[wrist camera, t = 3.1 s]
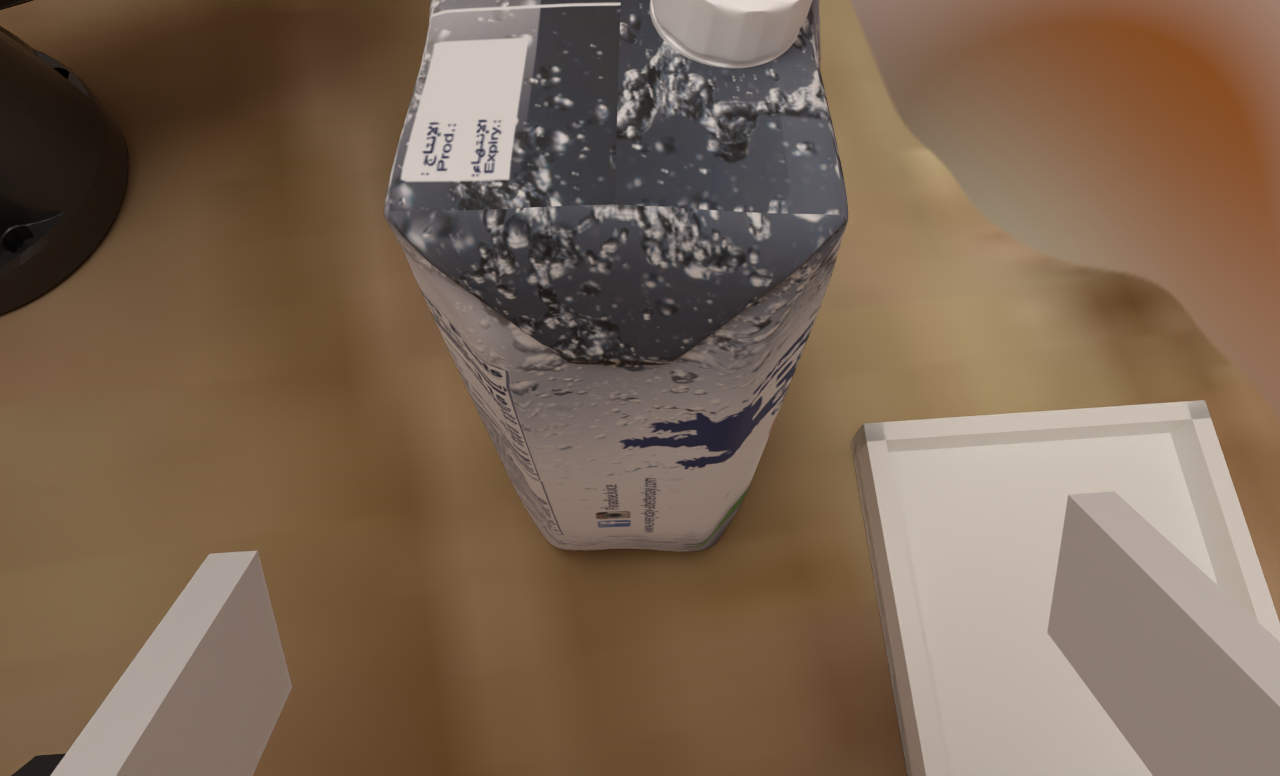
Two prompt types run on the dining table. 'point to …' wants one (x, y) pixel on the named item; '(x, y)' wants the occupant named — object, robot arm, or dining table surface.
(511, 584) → the dining table surface
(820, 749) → the dining table surface
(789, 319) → the juice carton
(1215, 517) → the carton tray
